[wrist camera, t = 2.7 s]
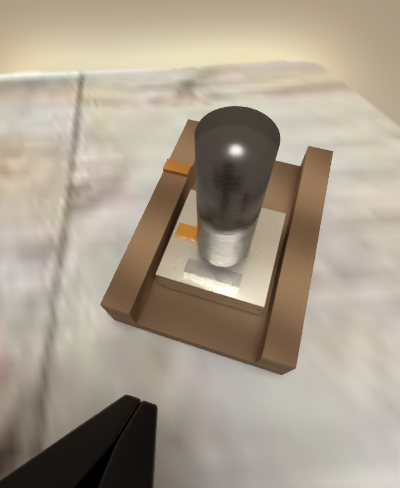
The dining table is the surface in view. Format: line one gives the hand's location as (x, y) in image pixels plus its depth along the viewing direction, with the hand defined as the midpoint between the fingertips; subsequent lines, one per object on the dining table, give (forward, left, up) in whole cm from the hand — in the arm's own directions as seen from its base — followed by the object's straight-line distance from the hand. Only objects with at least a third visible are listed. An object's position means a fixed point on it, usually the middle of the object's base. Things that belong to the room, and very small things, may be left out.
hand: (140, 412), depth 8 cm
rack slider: (+8, +4, -9) cm, 13 cm away
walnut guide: (+10, +5, -10) cm, 15 cm away
